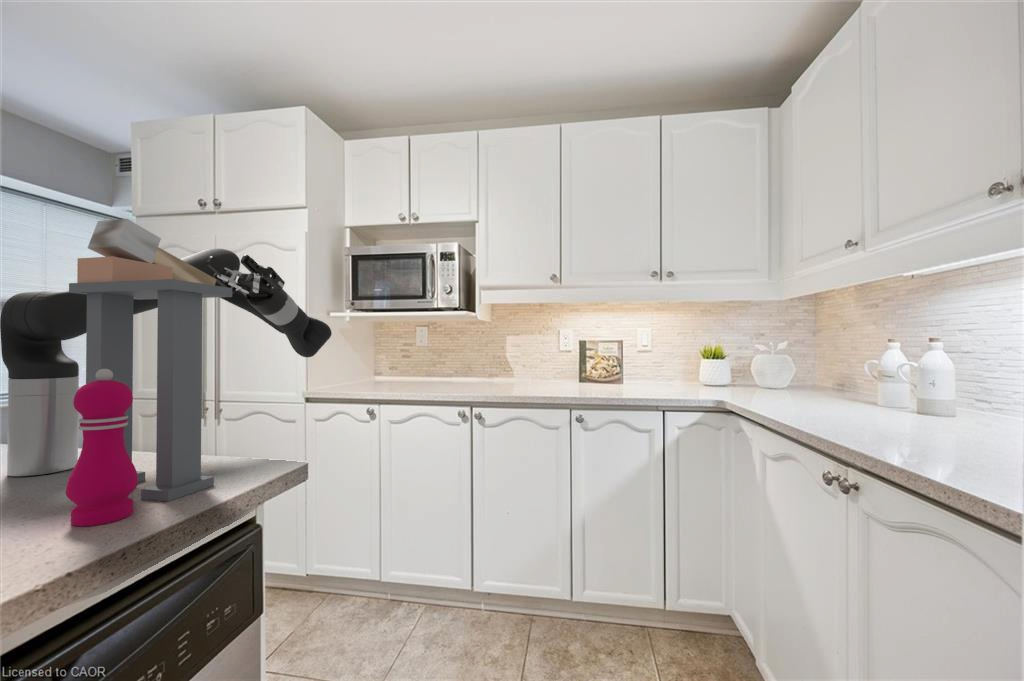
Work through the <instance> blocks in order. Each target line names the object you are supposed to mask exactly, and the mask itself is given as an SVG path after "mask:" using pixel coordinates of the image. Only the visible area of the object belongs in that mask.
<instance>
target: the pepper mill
mask: <svg viewBox="0 0 1024 681" xmlns="http://www.w3.org/2000/svg"><path fill="white" fill-rule="evenodd" d="M112 377H113V373H112V371H111V370H109V369H100V370H99V371H97V373H96V379H97V380H99V381H94V382H90V383H88V384H86V383H85V384H83V385H82V386H81V387H79V389H78V391H77V392H76V394H75V396H74V401H73V404H74V408H75V409H76V410H77V411H78V414H79V415H81V417H82V418H78V430H80V431H82V447H81V451H80V454H79V456H78V461H77V463H76V465H75V467H74V468H72V471H71V472H70V474H69V476H68V479H67V482H66V488H65V495H66V497H67V499H68V500H69V501H70V502H72V503H73V504H74V505H75V507H73V508H71V510H70V524H71V525H72V526H74V527H83V528H84V527H94V526H95V527H96V526H100V525H106V524H110V523H114V522H117V521H120V520H123V519H126V518H128V517H130V516H131V515H132V514H133V513H134V500H133V498H130V497H129V496H130V495H131V494H132V493H133V492H134V490H136V488H137V486H138V483H139V482H138V477H137V472H136V471H137V469H136V466H135V464H134V463H133V460H132V461H131V459H130V458H129V456H128V453H127V451H126V448H125V445H124V436H123V435H124V426H126V425H128V422H127V418H128V416H127V415H124V414H125V412H126V411H127V410H128V409H129V408H130V406H131V405H132V406H133V402H134V395H132V391H131V389H130V388H129V387H128V386H127V385H125V384H124V383H121V382H118V381H113V380H111V379H112Z"/></svg>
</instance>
